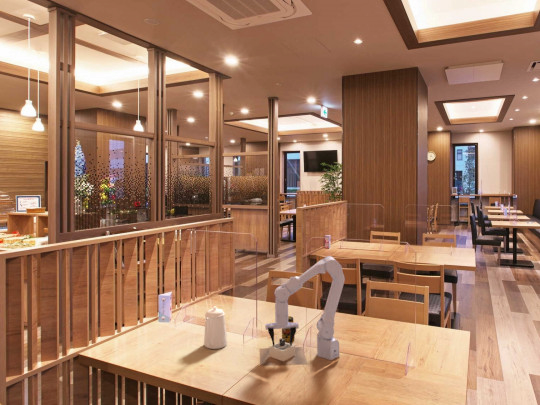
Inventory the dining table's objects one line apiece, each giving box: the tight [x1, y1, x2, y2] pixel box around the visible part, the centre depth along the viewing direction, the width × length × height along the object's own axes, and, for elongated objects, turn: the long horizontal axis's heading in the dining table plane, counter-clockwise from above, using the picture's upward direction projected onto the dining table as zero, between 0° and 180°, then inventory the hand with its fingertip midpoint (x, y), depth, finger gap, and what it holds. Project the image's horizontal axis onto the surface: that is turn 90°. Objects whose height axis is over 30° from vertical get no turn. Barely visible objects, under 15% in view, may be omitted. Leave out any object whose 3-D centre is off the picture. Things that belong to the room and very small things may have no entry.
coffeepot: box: [203, 305, 228, 350], centre depth 197 cm, size 11×25×19 cm, turn 168°
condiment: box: [281, 315, 296, 344], centre depth 201 cm, size 7×8×12 cm
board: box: [259, 346, 308, 367], centre depth 183 cm, size 20×18×1 cm
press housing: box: [268, 341, 296, 361], centre depth 182 cm, size 8×8×4 cm
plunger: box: [277, 338, 287, 350], centre depth 182 cm, size 6×6×7 cm
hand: (282, 344), depth 182 cm, fingers open, 7 cm apart
